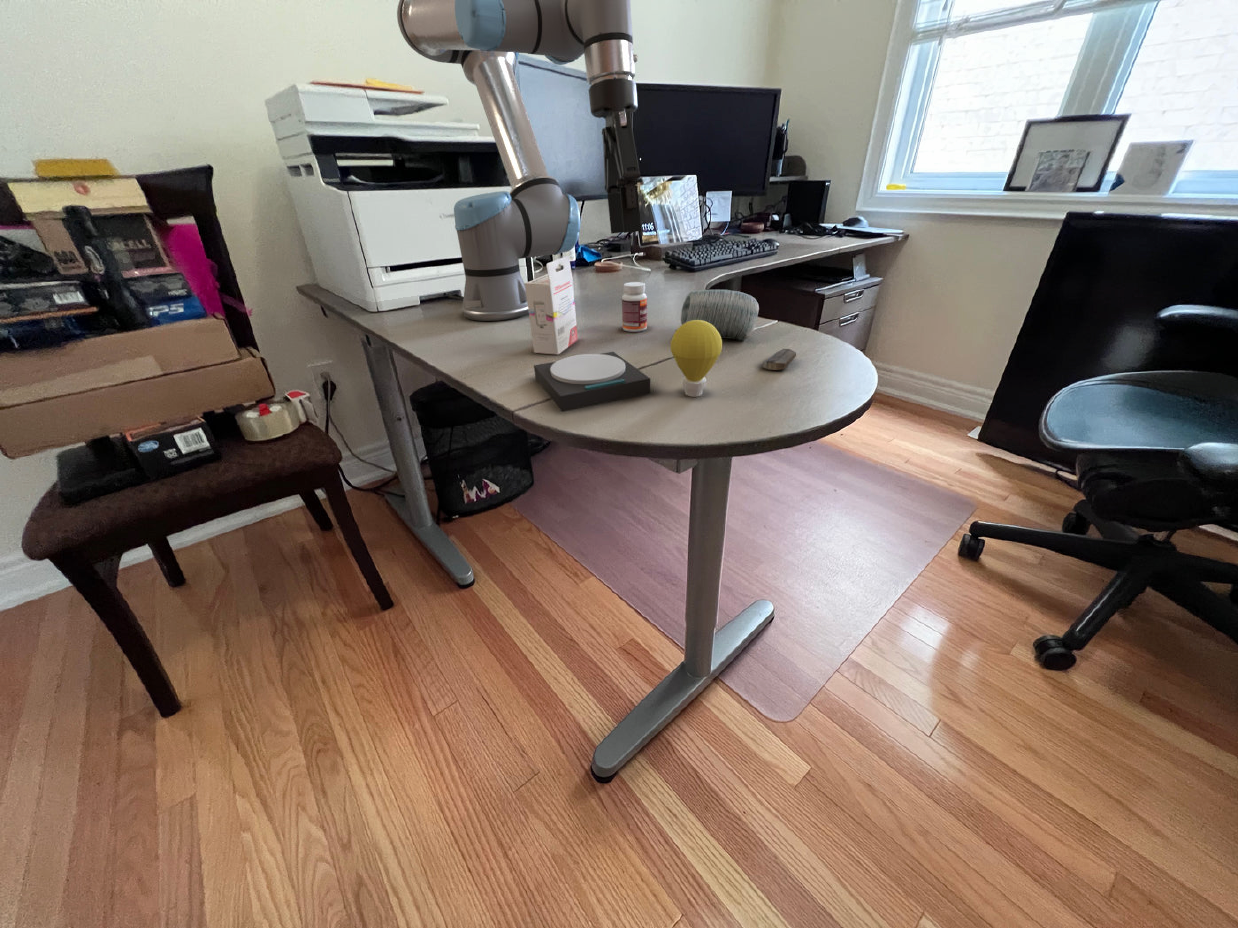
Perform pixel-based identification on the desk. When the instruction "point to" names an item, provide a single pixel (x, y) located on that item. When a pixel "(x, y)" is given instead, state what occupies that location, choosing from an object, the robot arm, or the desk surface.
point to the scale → (590, 380)
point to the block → (779, 359)
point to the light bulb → (695, 353)
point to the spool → (722, 311)
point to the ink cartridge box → (552, 309)
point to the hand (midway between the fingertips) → (624, 232)
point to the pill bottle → (634, 307)
